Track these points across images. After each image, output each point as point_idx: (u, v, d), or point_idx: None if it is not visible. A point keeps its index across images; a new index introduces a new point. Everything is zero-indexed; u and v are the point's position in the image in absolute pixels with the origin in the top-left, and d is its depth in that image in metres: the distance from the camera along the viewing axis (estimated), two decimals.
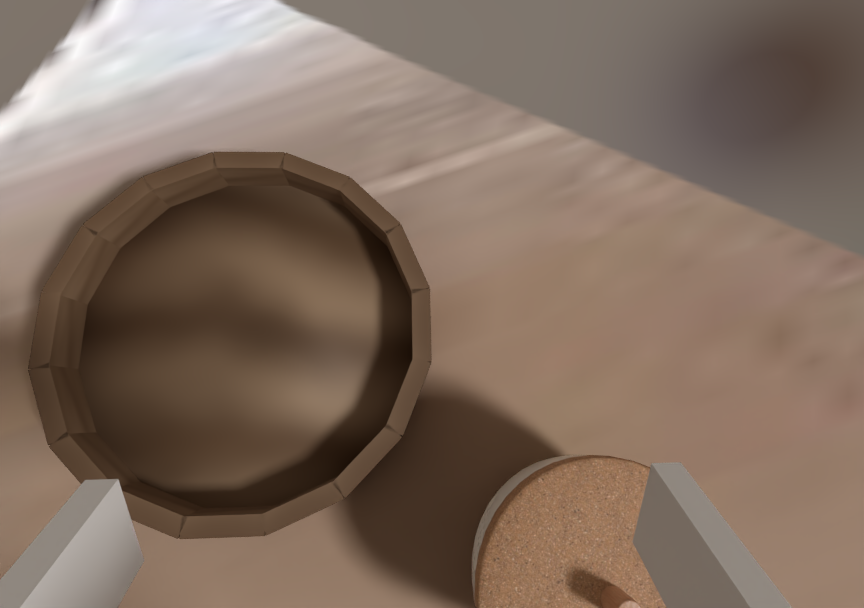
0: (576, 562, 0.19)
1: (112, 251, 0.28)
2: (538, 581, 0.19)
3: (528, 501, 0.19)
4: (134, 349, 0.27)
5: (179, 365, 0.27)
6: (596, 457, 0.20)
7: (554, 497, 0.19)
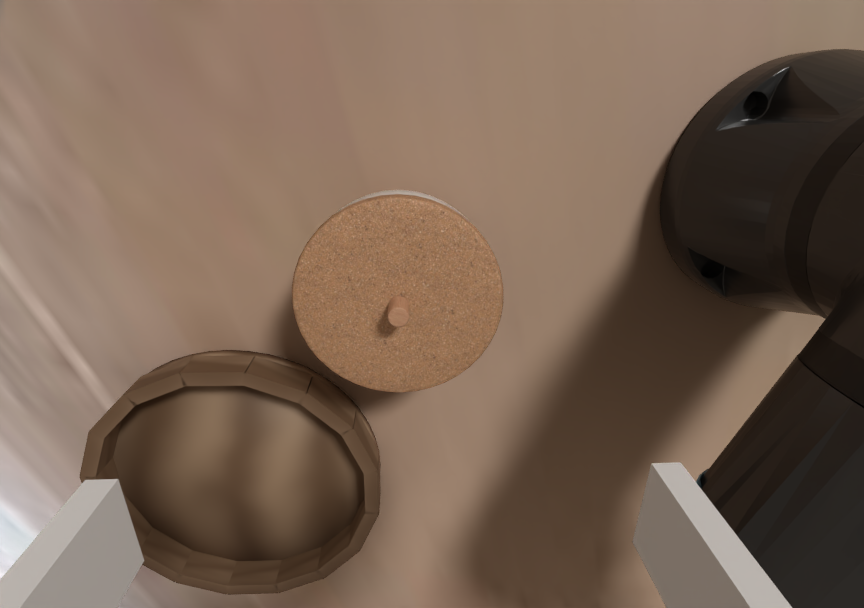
0: (371, 329, 0.24)
1: (194, 556, 0.39)
2: (384, 356, 0.25)
3: (328, 358, 0.25)
4: (264, 535, 0.39)
5: (273, 511, 0.38)
6: (292, 303, 0.24)
7: (325, 341, 0.24)
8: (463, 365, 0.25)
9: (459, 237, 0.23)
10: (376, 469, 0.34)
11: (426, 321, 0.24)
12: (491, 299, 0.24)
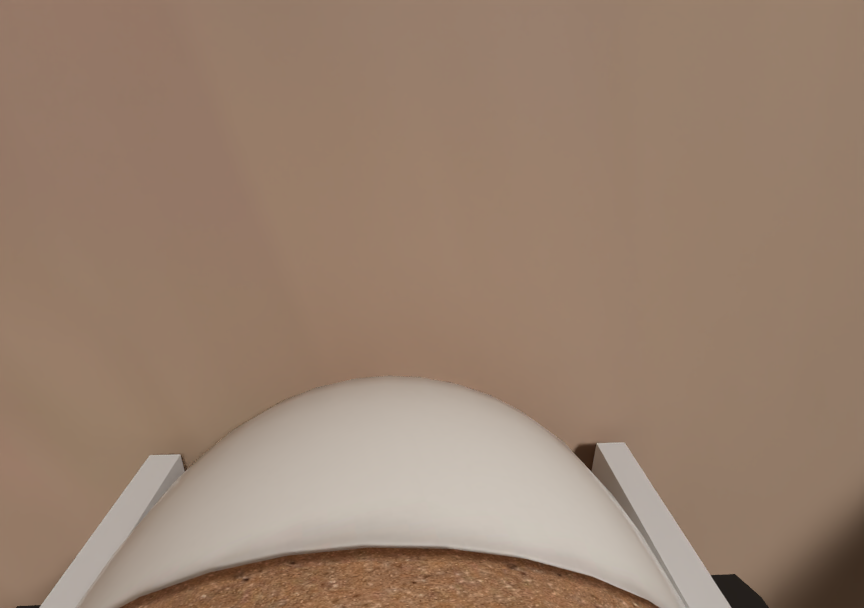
0: None
1: None
2: None
3: None
4: None
5: None
6: None
7: None
8: None
9: None
10: None
11: None
12: None
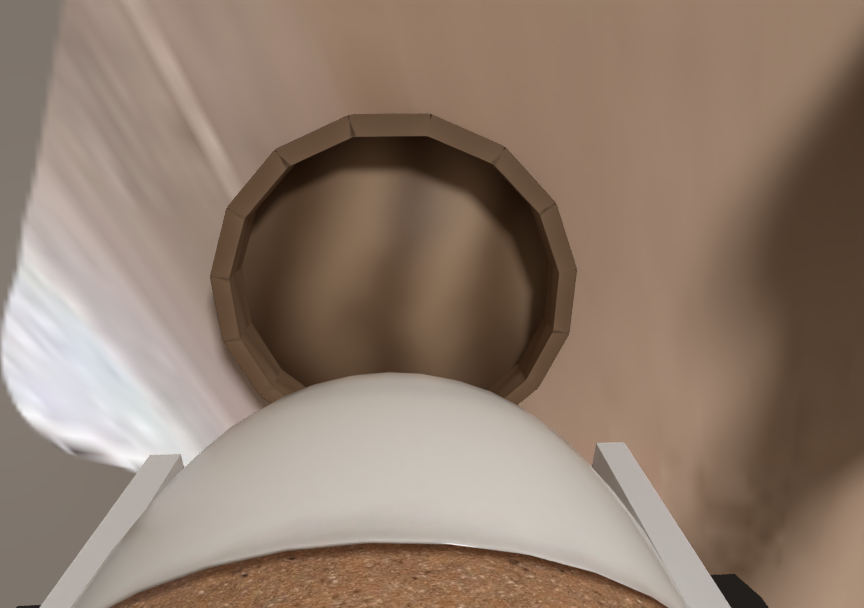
0: None
1: None
2: None
3: None
4: None
5: (426, 346, 0.31)
6: None
7: None
8: None
9: None
10: (575, 267, 0.27)
11: None
12: None
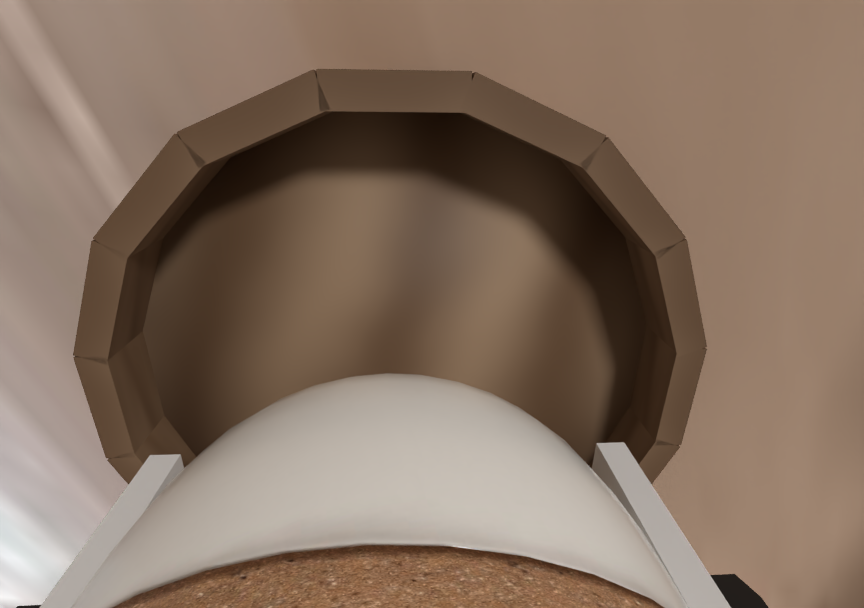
0: None
1: None
2: None
3: None
4: None
5: None
6: None
7: None
8: None
9: None
10: (704, 344, 0.16)
11: None
12: None
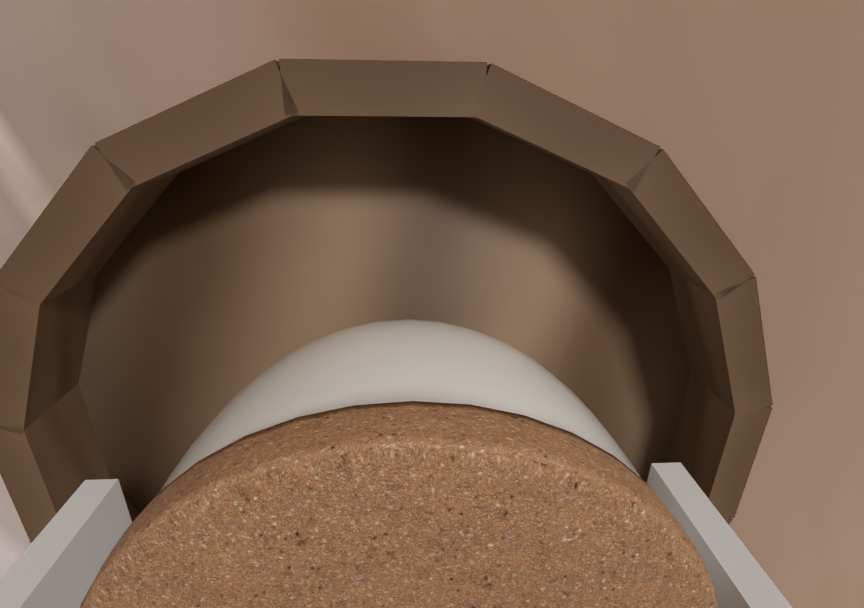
0: None
1: None
2: None
3: None
4: None
5: None
6: None
7: None
8: None
9: (619, 552, 0.07)
10: (768, 402, 0.13)
11: None
12: None
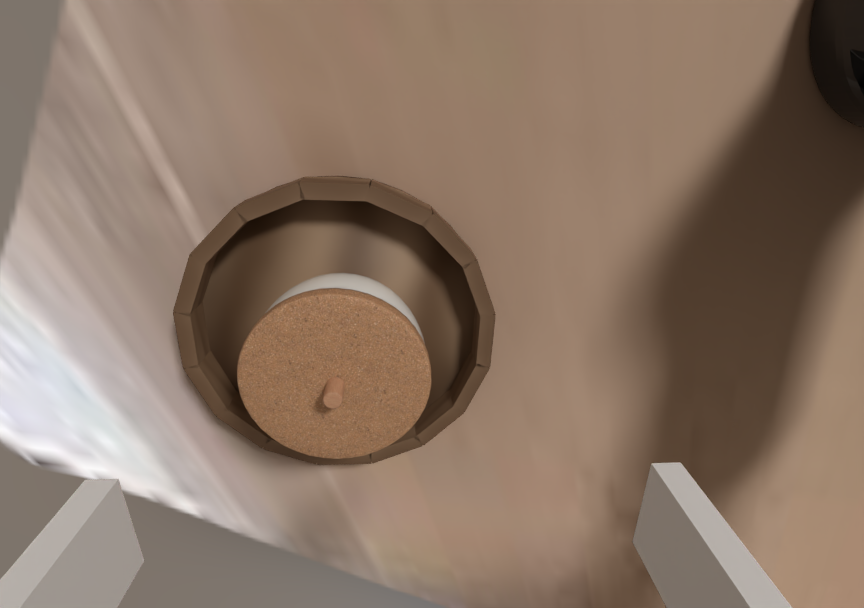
0: (310, 405, 0.27)
1: None
2: (322, 428, 0.27)
3: (270, 429, 0.27)
4: None
5: None
6: (237, 381, 0.26)
7: (267, 414, 0.27)
8: (395, 436, 0.28)
9: (390, 329, 0.25)
10: (494, 312, 0.32)
11: (360, 399, 0.27)
12: (420, 381, 0.27)
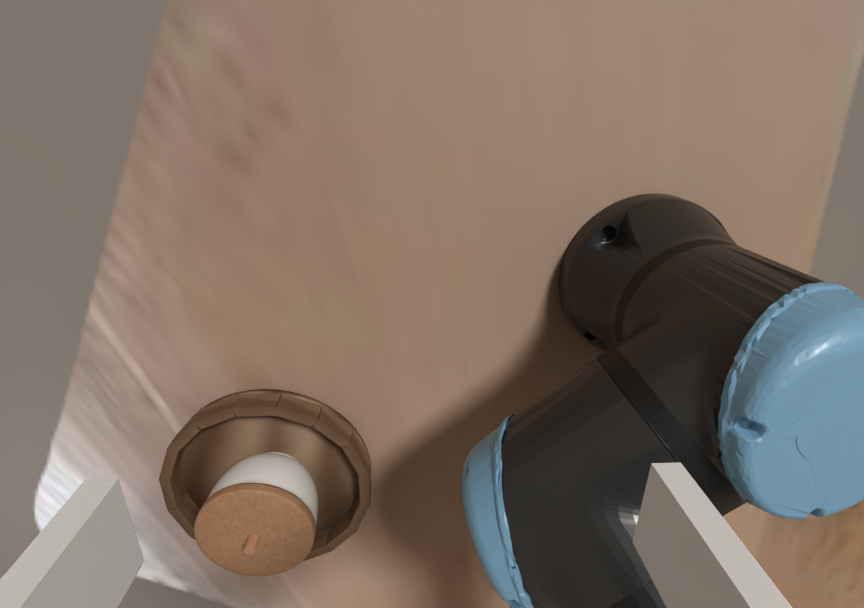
0: (239, 548, 0.43)
1: None
2: (249, 560, 0.44)
3: (217, 561, 0.44)
4: None
5: None
6: None
7: (214, 553, 0.43)
8: (295, 563, 0.45)
9: (283, 507, 0.42)
10: (367, 471, 0.48)
11: (270, 544, 0.43)
12: (306, 533, 0.43)
